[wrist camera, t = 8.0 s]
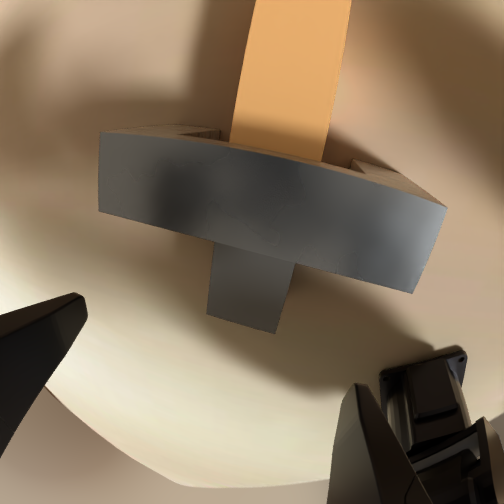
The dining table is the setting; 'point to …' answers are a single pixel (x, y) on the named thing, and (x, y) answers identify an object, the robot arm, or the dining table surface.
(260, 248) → the housing
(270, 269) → the plug
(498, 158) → the dining table surface
